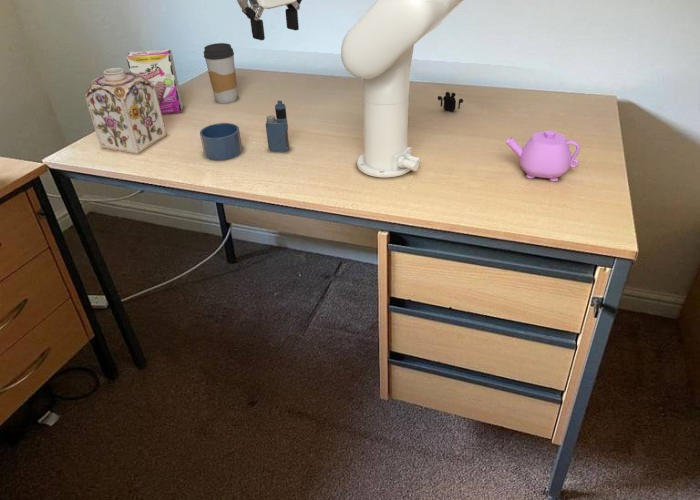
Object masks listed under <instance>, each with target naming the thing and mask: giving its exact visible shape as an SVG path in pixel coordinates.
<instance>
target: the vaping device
mask: <svg viewBox="0 0 700 500" xmlns="http://www.w3.org/2000/svg"><path fill="white" fill-rule="evenodd" d="M274 110H275V115H267V116H266V121H265V130H266V138H267V147H268V149H269V151H270V152H274V153H288V152H289V151H290V140H289V132H288V130H289V125H288V117H287V108H286V104H285V103H283V101H282V100H277V101H276V104H275V105H274Z"/></svg>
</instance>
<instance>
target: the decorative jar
mask: <svg viewBox="0 0 700 500" xmlns="http://www.w3.org/2000/svg"><path fill="white" fill-rule="evenodd" d="M125 70H126V69H124V68H122V67H112V68H107V69H105V70H104V71H103V75H100V76H98V77H97V78H94V79H92V80H91V82H90V84H89V86H88V87H87V90H86V92H85V94H84V100H85V103H86V107H87V109H88V111H89V115H90V118H91V119H90V120H91V121H92V125H93V127H94V131H95V134H96V137H97V140H98V143H99V144H100V147H101V148H102V149H106V150H107V149H108V150H113V151H118V152H124V153H125V152H126V153H131V154H140V153H142V152H144V150H146V149H147V148H149V147H150V146H153V145H154V144H155V143H157V142H159V141H160V140H161V139H163V138H164V137H166V136H167V131H166V128H165V123H164V118H163V114H161V110H160V106H159V102H158V98H157V95H156V91H155V87H154V85H153V84H152V83H151V82H150V81H148V80H147V79H146V78H144V77H143V76H142V75H141V74H139V73H132V72H130V71H125Z"/></svg>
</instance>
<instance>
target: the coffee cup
mask: <svg viewBox="0 0 700 500" xmlns="http://www.w3.org/2000/svg"><path fill="white" fill-rule="evenodd" d="M203 49H204V51H203V58H204V59H205V64H206V67H207V68H206V69H207V71H208V72H207V73H208V78H209V80H210V84H211V88H212V92H213V95H214V100H216V103H219V104H229V103H233V102H235V101H237V100H238V85H237V74H236V65H235V58H234V57H235V52H234V48H232V45H231V44H230V43H227V42H218V43H211V44H207V45H205V46H204V47H203Z"/></svg>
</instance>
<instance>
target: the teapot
mask: <svg viewBox="0 0 700 500" xmlns="http://www.w3.org/2000/svg"><path fill="white" fill-rule="evenodd" d="M505 144H506V145H507V146H508V148H510V149H511V151H512V152H513V153H514V154H516V155H517V156H518V158H519V164H520V166H521V168H522V170H523V171H524V173H526V178H527V179H535V178H544V179H548V180H549V181H551V182H558V181H559V178H560V177H562V176H563V175H564V174H565V173H567V172H568V171H569V169H570V168H577V167H578V165H579V163H580V162H579V160H578V159H577V156H578V154H579V153H580V150H581V146H580V143H579V142H578V141H576V140H573V139H570V140H567V138H566V136H565V135H564V134H562V133H560V132H557V131H555V130H552V129H547V130H540V131H536V132H535V133H533V134H532V136H530V138H529V139H528V140H527V142H526V143H525V144H524V146H523V147H522V146H521V145H520V144H519V143H518V142H517V141H516V139H515V138H514V137H513V136H512V137H509V138H508V139H507V140H506V141H505ZM570 145H573V146H575V151H574V152H573V154H572V152H571V149H570Z"/></svg>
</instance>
